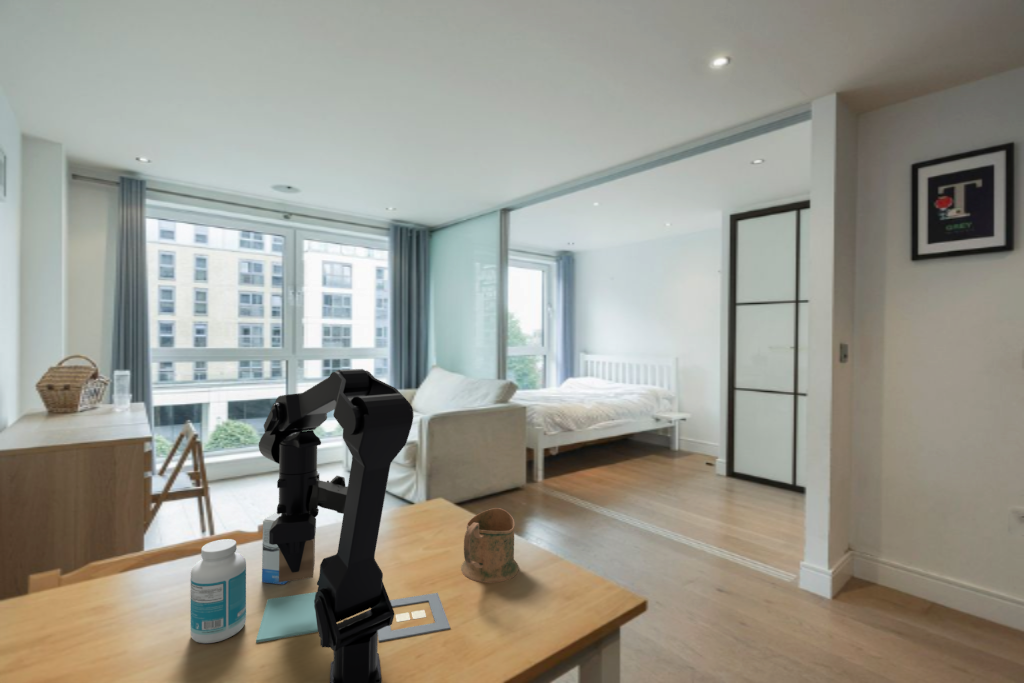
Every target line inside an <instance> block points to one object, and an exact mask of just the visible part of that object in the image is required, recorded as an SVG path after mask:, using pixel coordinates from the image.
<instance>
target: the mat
mask: <svg viewBox="0 0 1024 683" xmlns="http://www.w3.org/2000/svg"><path fill="white" fill-rule="evenodd" d="M316 592H317V591H314V592H308V593H300V594H293V595H288V596H279V597H273V598H267V601H266V604H265V608H264V612H263V615H262V618H261V621H260V622H261V623H260V625H259V629H258V633H257V636H256V638H255V644H256V643H263V642H267V641H274V640H279V639H284V638H289V637H297V636H302V635H308V634H313V633H319V632H318V628H317V620H316V612H315V607H314V605H315V604H314V600H315V595H316Z"/></svg>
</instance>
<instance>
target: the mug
mask: <svg viewBox="0 0 1024 683" xmlns="http://www.w3.org/2000/svg"><path fill="white" fill-rule="evenodd" d="M513 517H514V516H512V515H511V514H510V512H508V510H505V509H503V508H500V507H494V508H490V509H487V510H483V511H481V512H479V513H478V514H475V515H474V516H473V517H472V518H470V519H469V521H468V522H467V523H466V531H465V534H464V538H463V555H464V557H463V558H464V561H463V562H462V564H461V565H460V566H461V567H460V571H461V573H462V574H463V575H464V577H466V578H467V579H469V580H472V581H474V582H479V583H484V584H485V583H486V584H487V583H488V584H489V583H491V584H493V583H500V582H505V581H508V580H510V579H513V578H514V577H515V576H517V575H518V573H519V564H518V562H517V561H516V560H515V519H514V518H513Z"/></svg>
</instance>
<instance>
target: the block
mask: <svg viewBox="0 0 1024 683" xmlns="http://www.w3.org/2000/svg"><path fill="white" fill-rule="evenodd" d="M315 552H316V538H315V539H313V540H310V541H306V543H305V546H304V551H303V556H302V560H301V565H300V570H299V572H291V570H290V568H289V566H288V564H287V562H286V560H285V558H284V556H283V554H282V552H281V551H280V549H279V582H284V581H288V582H289V581H290V582H291V581H299V580H304V579H312V578H314V570H315V560H316V556H315Z"/></svg>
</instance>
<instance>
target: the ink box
mask: <svg viewBox="0 0 1024 683" xmlns="http://www.w3.org/2000/svg"><path fill="white" fill-rule="evenodd" d="M281 514H282V513H280V514H277V512H274V513H273V514H270V515H269V516H267V517H265V518H264V519H263V520H262V544H261V545H262V549H261V550H262V554H261V555H262V558H261V559H262V560H261V561H262V563H261V582H262V583H266V584H274V585H275V584H276V585H286V584H287V583H288V582H289V581H284V582H279V547H278V545H277V544H275V545H272V544H269V531H270V528H271V526H272V523H273V522H274V521H275V520H276V519H277V518H278V517H279V516H281Z"/></svg>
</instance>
